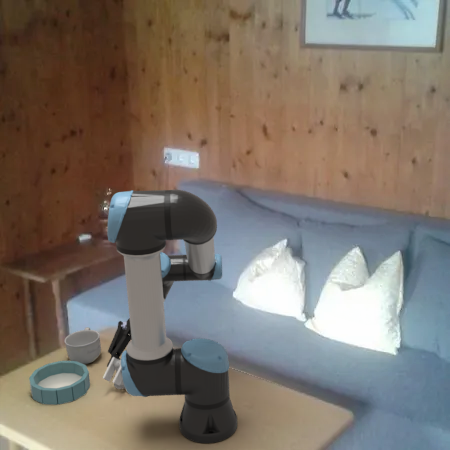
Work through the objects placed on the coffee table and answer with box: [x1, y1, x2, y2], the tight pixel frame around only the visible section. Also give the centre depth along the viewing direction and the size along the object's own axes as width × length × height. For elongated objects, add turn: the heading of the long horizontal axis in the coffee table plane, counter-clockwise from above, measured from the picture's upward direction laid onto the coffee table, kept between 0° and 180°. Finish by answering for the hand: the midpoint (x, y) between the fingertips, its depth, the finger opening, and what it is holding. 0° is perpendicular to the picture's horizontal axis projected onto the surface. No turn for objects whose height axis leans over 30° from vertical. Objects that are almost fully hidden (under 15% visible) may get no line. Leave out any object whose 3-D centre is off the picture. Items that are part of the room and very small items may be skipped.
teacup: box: [64, 327, 102, 365], centre depth 210 cm, size 14×11×8 cm
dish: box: [28, 360, 91, 406], centre depth 193 cm, size 16×16×4 cm
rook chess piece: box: [113, 358, 125, 390], centre depth 191 cm, size 4×4×8 cm
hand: (111, 381), depth 188 cm, fingers closed on rook chess piece, 3 cm apart
